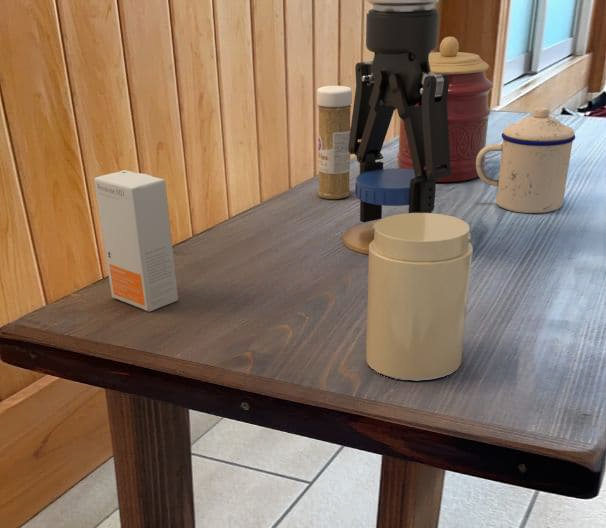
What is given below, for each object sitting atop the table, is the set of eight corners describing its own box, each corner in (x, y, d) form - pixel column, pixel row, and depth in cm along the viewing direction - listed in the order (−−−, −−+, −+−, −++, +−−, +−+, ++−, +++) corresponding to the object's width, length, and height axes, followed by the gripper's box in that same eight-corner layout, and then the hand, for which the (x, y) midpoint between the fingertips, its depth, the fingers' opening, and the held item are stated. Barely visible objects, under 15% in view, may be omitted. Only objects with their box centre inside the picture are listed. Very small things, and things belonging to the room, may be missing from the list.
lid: (340, 193, 100) (340, 176, 99) (402, 181, 104) (403, 164, 103) (385, 210, 94) (386, 192, 93) (450, 197, 98) (451, 179, 96)
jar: (465, 345, 78) (478, 213, 71) (456, 385, 71) (470, 245, 64) (374, 337, 79) (378, 208, 72) (357, 376, 73) (360, 239, 66)
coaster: (448, 228, 106) (448, 223, 105) (437, 259, 96) (437, 254, 96) (353, 223, 108) (353, 218, 108) (333, 253, 99) (333, 248, 98)
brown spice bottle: (312, 194, 119) (311, 86, 111) (341, 189, 121) (341, 83, 113) (327, 202, 116) (326, 91, 108) (356, 197, 117) (358, 88, 109)
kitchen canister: (477, 161, 132) (490, 30, 122) (490, 183, 122) (505, 41, 111) (393, 163, 133) (399, 32, 122) (399, 184, 122) (406, 43, 112)
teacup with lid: (561, 196, 116) (576, 101, 109) (567, 215, 109) (583, 115, 102) (472, 194, 118) (481, 100, 111) (471, 213, 110) (481, 114, 104)
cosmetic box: (110, 299, 88) (91, 177, 81) (142, 287, 91) (126, 168, 84) (148, 313, 85) (131, 187, 78) (180, 301, 87) (167, 178, 80)
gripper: (316, 2, 94) (318, 213, 107) (440, 17, 79) (424, 260, 92) (372, -2, 97) (367, 204, 110) (501, 11, 82) (478, 247, 95)
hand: (393, 229), depth 101 cm, fingers closed on lid, 9 cm apart
